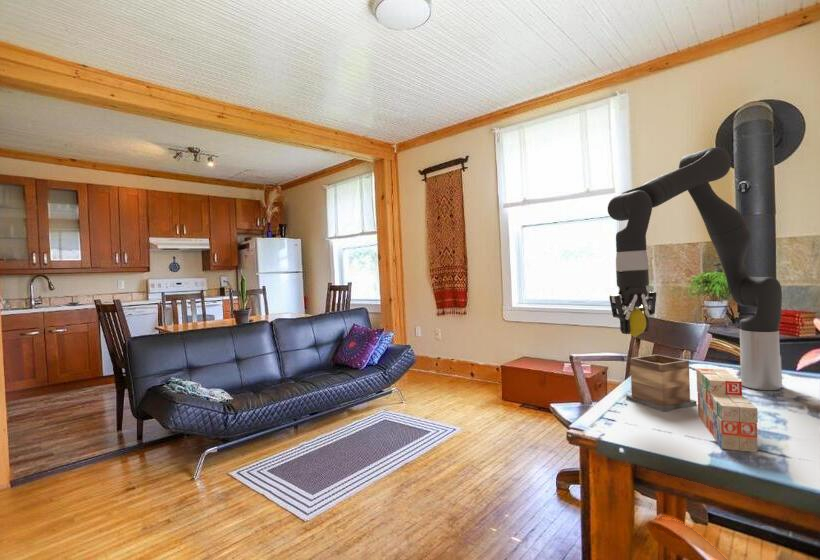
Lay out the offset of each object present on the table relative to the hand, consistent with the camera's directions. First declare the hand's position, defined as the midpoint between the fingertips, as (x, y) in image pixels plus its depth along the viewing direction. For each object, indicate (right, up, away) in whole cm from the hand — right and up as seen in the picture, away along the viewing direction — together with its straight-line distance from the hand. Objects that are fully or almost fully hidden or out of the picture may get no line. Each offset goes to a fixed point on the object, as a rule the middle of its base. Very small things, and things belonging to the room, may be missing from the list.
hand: (634, 332), depth 111 cm
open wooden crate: (+11, -20, +7) cm, 24 cm away
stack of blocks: (+13, -21, -15) cm, 29 cm away
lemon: (0, -1, 0) cm, 1 cm away
